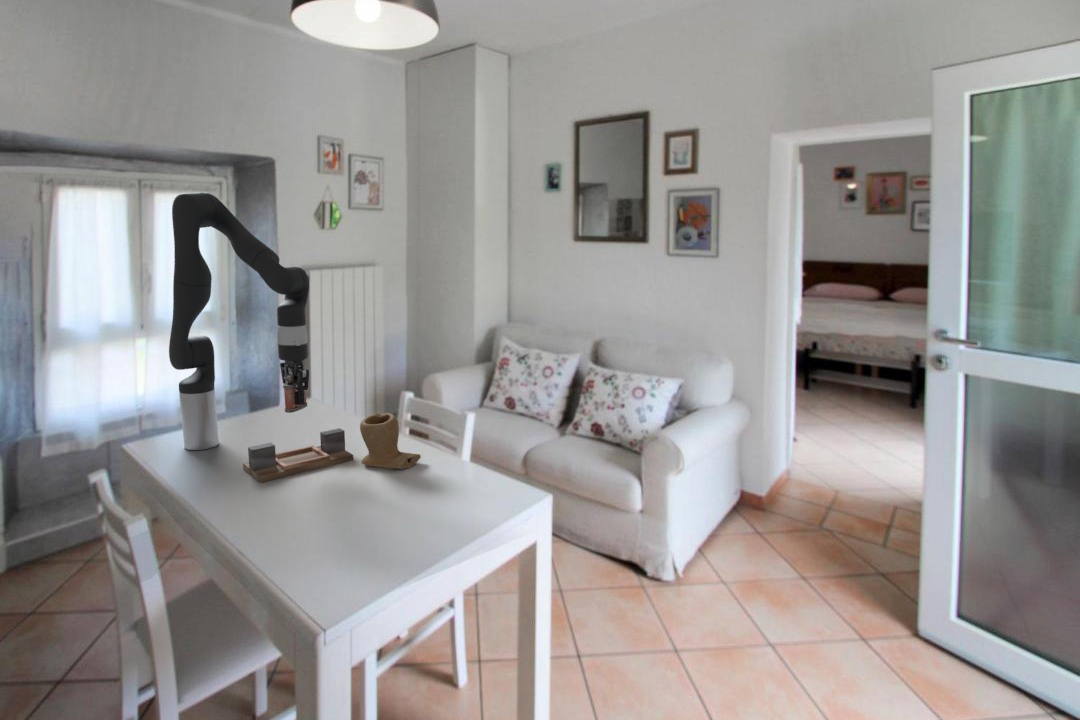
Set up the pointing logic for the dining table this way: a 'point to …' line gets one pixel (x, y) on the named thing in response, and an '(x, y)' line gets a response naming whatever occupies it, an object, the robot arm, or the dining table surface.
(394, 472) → the dining table surface
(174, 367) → the robot arm
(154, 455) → the dining table surface
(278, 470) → the rail
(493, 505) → the dining table surface
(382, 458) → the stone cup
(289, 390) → the lighter
